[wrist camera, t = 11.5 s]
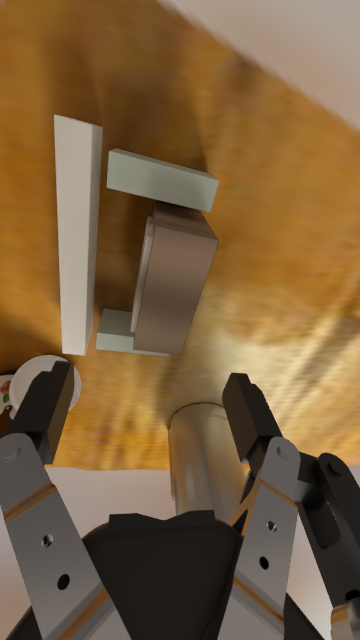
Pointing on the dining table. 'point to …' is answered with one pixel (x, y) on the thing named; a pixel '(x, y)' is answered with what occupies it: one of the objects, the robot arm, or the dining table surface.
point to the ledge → (82, 223)
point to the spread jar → (26, 387)
